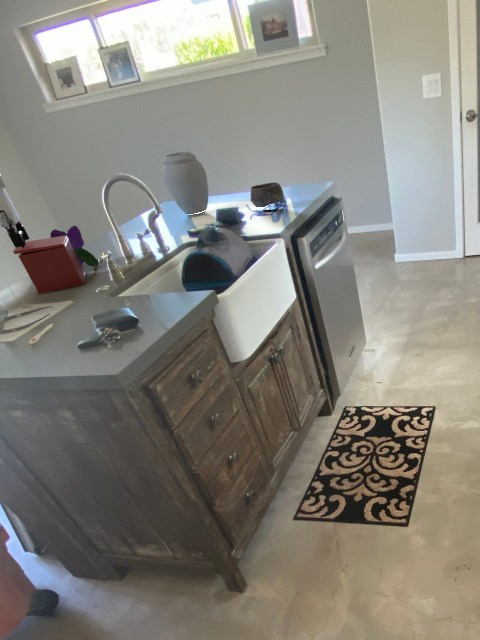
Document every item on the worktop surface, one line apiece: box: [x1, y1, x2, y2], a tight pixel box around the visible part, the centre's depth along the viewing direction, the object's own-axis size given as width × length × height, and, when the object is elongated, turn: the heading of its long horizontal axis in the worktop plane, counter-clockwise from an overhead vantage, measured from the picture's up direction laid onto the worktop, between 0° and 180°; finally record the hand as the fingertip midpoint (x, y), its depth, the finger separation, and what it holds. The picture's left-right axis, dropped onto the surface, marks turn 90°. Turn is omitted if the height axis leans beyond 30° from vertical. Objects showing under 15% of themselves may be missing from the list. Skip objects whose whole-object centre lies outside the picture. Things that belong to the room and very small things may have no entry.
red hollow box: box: [18, 238, 86, 295], centre depth 180 cm, size 15×14×12 cm
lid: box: [12, 230, 68, 255], centre depth 174 cm, size 15×14×5 cm
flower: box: [50, 225, 99, 269], centre depth 193 cm, size 15×15×14 cm
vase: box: [161, 151, 209, 217], centre depth 241 cm, size 20×20×24 cm
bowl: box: [249, 181, 285, 208], centre depth 234 cm, size 14×15×10 cm
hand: (22, 243), depth 173 cm, fingers open, 9 cm apart
